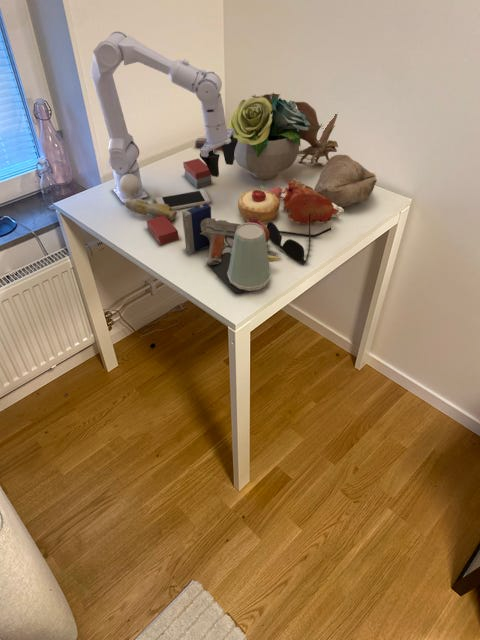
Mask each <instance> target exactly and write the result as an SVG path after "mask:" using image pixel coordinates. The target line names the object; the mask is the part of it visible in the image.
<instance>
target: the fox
mask: <svg viewBox="0 0 480 640" xmlns="http://www.w3.org/2000/svg"><path fill="white" fill-rule="evenodd" d="M281 258H282V257H281V256H278V257H276V256H272V255H269V254H268V261H269V263H274V262H277V261H279V260H280V259H281Z"/></svg>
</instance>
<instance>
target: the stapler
mask: <svg viewBox="0 0 480 640" xmlns="http://www.w3.org/2000/svg"><path fill="white" fill-rule="evenodd" d="M332 204H333V205H334V208H335V209H336V210H338V212H337V213H336V214H332V216H331V218H333V219H334V218H337V217H339V216H340V214H343V213H344V212H345V209H344V208H343V207H342V206H337V205H335V204H334V203H332Z"/></svg>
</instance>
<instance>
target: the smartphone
mask: <svg viewBox="0 0 480 640" xmlns="http://www.w3.org/2000/svg"><path fill="white" fill-rule="evenodd" d="M205 203H207V204H210V203H211V199H210V197H209V195H208V194H207V192H206V190H205V189H199V190H194V191H188V192H182V193H177V194H171V195H165V196H160V197H159V196H158V197H156V198H155V204H168V205H169V207H172V210H171V211H174V210H179V209H180V210H181V209H185V208H192V207H196V206H199V205H200V204H205Z"/></svg>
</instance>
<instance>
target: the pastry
mask: <svg viewBox="0 0 480 640" xmlns="http://www.w3.org/2000/svg"><path fill="white" fill-rule="evenodd" d="M262 186H263V187H265V188H266V186H265V184H264V183H261V184H260V185H259V189H251V190H247V191H246V192H243V193H242V194H241V195H239V196H238V199H237V207H238V210H239V211H238V212H239V214H240V216H242V218H243V219H244V220H246V221H247V222H248V221H249V218H251V217H257V219H258V221H260V222H262V223H263V224H265V223H268V222H271V221H273V220H274V218H275V217H276V216H277V215H278V212H279V211H280V206H281V201H280V198H279V199H278V197H276V196H275V194H272V193H271V192H268V191H267V190H265V189H264V190H262V188H261V187H262Z"/></svg>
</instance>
